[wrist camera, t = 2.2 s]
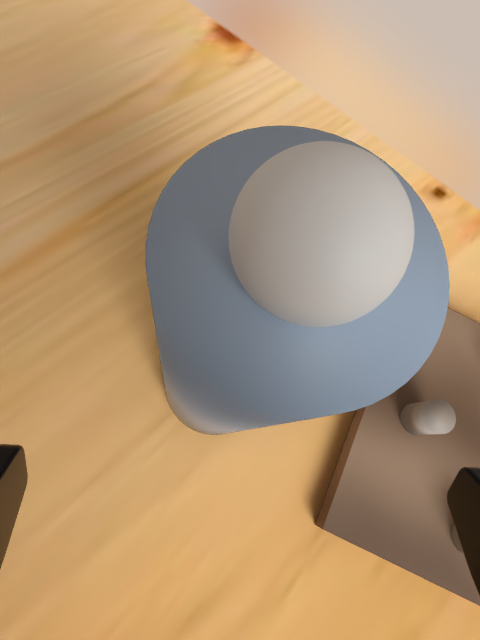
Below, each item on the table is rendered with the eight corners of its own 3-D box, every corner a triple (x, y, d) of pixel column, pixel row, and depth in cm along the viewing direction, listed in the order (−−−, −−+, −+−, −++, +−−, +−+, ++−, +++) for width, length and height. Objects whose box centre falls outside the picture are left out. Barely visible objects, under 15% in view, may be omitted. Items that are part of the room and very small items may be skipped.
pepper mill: (283, 394, 20) (622, 244, 5) (204, 456, 19) (331, 514, 4) (225, 316, 21) (367, -27, 6) (144, 371, 19) (42, 119, 4)
